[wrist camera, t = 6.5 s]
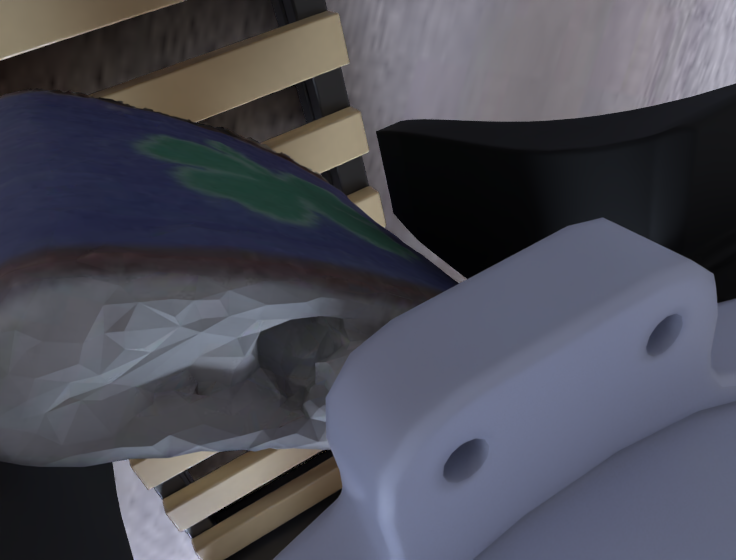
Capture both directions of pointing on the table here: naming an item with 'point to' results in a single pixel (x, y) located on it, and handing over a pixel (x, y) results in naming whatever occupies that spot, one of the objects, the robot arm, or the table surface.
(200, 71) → the rack
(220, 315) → the flask
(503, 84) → the table surface
